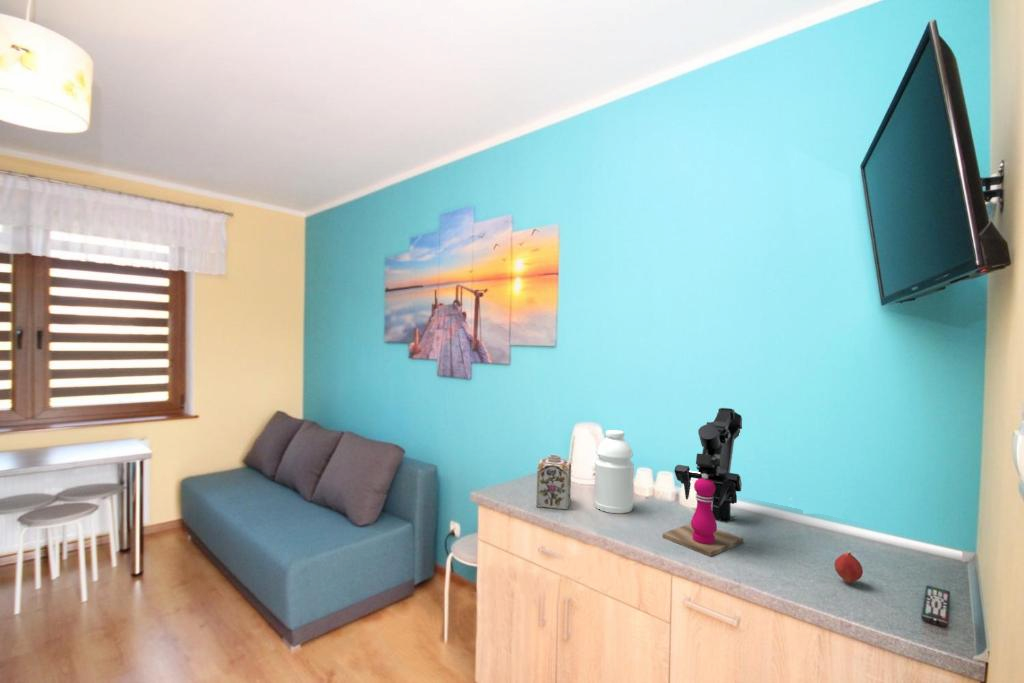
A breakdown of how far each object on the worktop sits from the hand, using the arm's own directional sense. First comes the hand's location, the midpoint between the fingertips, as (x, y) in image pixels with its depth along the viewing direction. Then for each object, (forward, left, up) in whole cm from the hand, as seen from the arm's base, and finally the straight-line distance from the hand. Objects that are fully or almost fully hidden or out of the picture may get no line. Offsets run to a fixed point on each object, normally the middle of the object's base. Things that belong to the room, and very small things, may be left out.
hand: (702, 502), depth 138 cm
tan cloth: (-4, -2, -13) cm, 14 cm away
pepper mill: (-2, 0, -12) cm, 12 cm away
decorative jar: (+13, -52, -13) cm, 56 cm away
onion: (-11, +34, -13) cm, 38 cm away
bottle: (-3, -37, -13) cm, 40 cm away
